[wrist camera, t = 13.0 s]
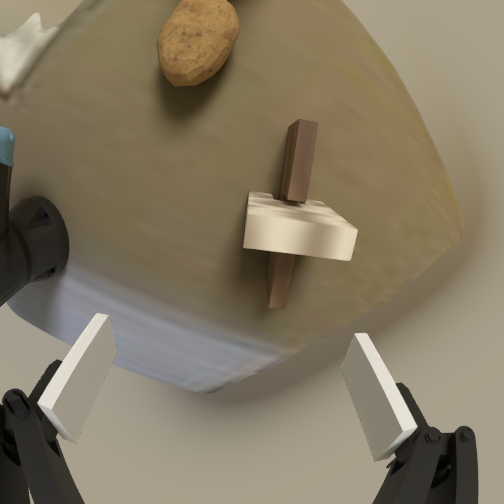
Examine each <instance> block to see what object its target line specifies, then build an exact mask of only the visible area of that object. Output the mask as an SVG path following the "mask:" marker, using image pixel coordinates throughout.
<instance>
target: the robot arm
mask: <svg viewBox="0 0 504 504" xmlns="http://www.w3.org/2000/svg"><path fill="white" fill-rule="evenodd" d="M14 146H15V136H14V134H13V132H12V131H11V130H10V129H8V128H4V127H0V307H1V306H2V305H3V304H4V303H5V302H6V301H7V300H8V299H10V298H11V297H12V296H13V295H14V294H15V293H17V292H18V291H19V290H20V289H21V288H22V287H24V286H25V285H26V284H28V283H31V282H35V281H40V280H44V279H48V278H51V277H53V276H54V275H55V274H57V273H58V272H59V271H60V270H61V269H62V268H63V267H64V265H65V263H66V261H67V257H68V251H69V242H68V235H67V230H66V227H65V224H64V221H63V219H62V217H61V215H60V213H59V211H58V210H57V209H56V207H55V206H54V205H53V204H52V203H51V202H50V201H49V200H47V199H46V198H44V197H41V196H31V197H28V198H25V199H23V200H21V201H20V202H18V203H17V204H16V205H15V206H14V207H13V208H12V209H11V210H10V211H9V197H10V184H11V175H12V167H13V166H14V163H13V154H14ZM116 355H117V350H116V346H115V342H114V337H113V333H112V329H111V324H110V319H109V315H104V314H99V313H96V315H95V316H94V317H93V319H92V320H91V322H90V323H89V324H88V326H87V327H86V328H85V330H84V331H83V333H82V334H81V336H80V337H79V338H78V340H77V341H76V343H75V344H74V346H73V347H72V349H71V350H70V352H69V353H68V354H67V356H66V358H65V359H64V361H60V360H56V361H54V362H53V363H52V364H50V365H49V366H48V368H47V369H46V371H45V374H43V375H42V377H41V380H39V381H38V383H37V385H36V386H35V388H34V389H33V391H32V393H31V394H30V396H29V397H28V398H27V396H26V395H25V393H24V392H23V391H22V390H19V389H11V390H9V391H7V392H6V393H5V395H4V397H3V399H2V403H3V405H1V404H0V504H30V498H29V491H28V487H29V490H30V493H31V496H32V499H33V501H34V504H85V503H84V501H83V499H82V497H81V495H80V493H79V491H78V489H77V487H76V485H75V483H74V481H73V478H72V476H71V474H70V471H69V469H68V467H67V464H66V462H65V459H64V456H63V454H62V451H61V448H60V446H59V443H58V440H57V439H56V435H57V433H59V434H60V436H61V437H62V438H63V439H65V440H68V441H70V442H73V443H75V444H77V441H78V439H79V436H80V434H81V431H82V429H83V427H84V424H85V422H86V420H87V417H88V415H89V412H90V410H91V408H92V406H93V404H94V401H95V399H96V397H97V395H98V393H99V390H100V388H101V386H102V384H103V382H104V380H105V378H106V375H107V373H108V371H109V369H110V367H111V365H112V363H113V361H114V359H115V357H116ZM341 372H342V374H343V377H344V379H345V382H346V385H347V387H348V390H349V393H350V395H351V398H352V400H353V403H354V406H355V409H356V411H357V414H358V417H359V419H360V422H361V425H362V428H363V431H364V433H365V436H366V439H367V442H368V445H369V448H370V450H371V453H372V456H373V459H374V462H376V461H380V460H383V459H387V458H389V457H390V456H391V455H392V454H393V453H395V455H396V458H395V459H394V460H393V461H391V462H390V463H389V464H388V465H387V467H386V468H389V467H390V466H391V467H390V470H389V472H388V474H387V476H386V478H385V480H384V482H383V484H382V486H381V488H380V490H379V492H378V494H377V496H376V498H375V500H374V502H373V504H478V462H477V449H476V440H475V434H474V432H473V430H472V429H470V428H469V427H467V426H461V427H459V428H458V429H457V430H456V431H455V432H454V433H441V432H440V431H439V430H438V429H436V428H435V427H429V426H428V424H427V422H426V420H425V419H424V416H423V415H422V413H421V411H420V409H419V407H418V406H417V404H416V402H415V400H414V398H413V397H412V394H411V393H410V391H409V389H408V388H407V387H406V386H405V385H404V384H402V383H396V384H395V383H394V381H393V379H392V377H391V375H390V373H389V372H388V370H387V368H386V366H385V364H384V363H383V361H382V359H381V357H380V356H379V354H378V352H377V350H376V349H375V347H374V345H373V344H372V342H371V340H370V338H369V337H368V335H367V333H355V334H354V336H353V339H352V341H351V344H350V347H349V349H348V352H347V354H346V357H345V359H344V362H343V364H342V366H341Z"/></svg>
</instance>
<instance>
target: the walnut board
mask: <svg viewBox="0 0 504 504" xmlns="http://www.w3.org/2000/svg"><path fill="white" fill-rule="evenodd" d="M317 128H318V123H317V122H313V121H308V120H302V119H299V120H297V121H296V122H294V123H293V124H291V125H290V126H289V132H288V139H287V146H286V153H285V160H284V166H283V173H282V180H281V187H280V193H279V200H280V201H287V202H294V203H298V201H300V202H306V199H307V193H308V187H309V181H310V175H311V168H312V162H313V156H314V149H315V142H316V135H317ZM295 258H296V254H291V253H283V252H275V251H270V256H269V262H268V268H267V274H266V285H267V295H268V305H269V307H270V308H280V309H285V305H286V301H287V296H288V292H289V287H290V282H291V277H292V273H293V268H294V263H295Z"/></svg>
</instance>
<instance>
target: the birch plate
mask: <svg viewBox="0 0 504 504" xmlns="http://www.w3.org/2000/svg"><path fill="white" fill-rule="evenodd" d="M357 232H358V230H357V229H356V228H354V227H353V226H352V225H351V224H349V223H348V222H347V221H346V220H344V219H343V218H342V217H341V216H339V215H338V214H337V213H336V212H334V211H333V210H332V209H330V208H329V207H328V206H327V205H325V204H324V203H323V202H321V201H315V200H308V199H306V202H300V203H294V202H287V201H280V200H274V198H273V196H272V194H268V193H261V192H253V191H249V197H248V204H247V212H246V223H245V234H244V246H243V248H250V249H258V250H266V251H275V252H283V253H291V254H299V255H307V256H315V257H323V258H331V259H339V260H347V261H350V260H351V256H352V252H353V248H354V244H355V240H356V236H357Z"/></svg>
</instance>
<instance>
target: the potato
mask: <svg viewBox="0 0 504 504" xmlns="http://www.w3.org/2000/svg"><path fill="white" fill-rule="evenodd" d="M238 33H239V20H238V17H237V14H236V11H235V9H234V7H233V6H232V5H231V4H230V3H229V2H228V1H227V0H182V1H181V2H180V4H179V5H178V6H177V7H176V9H175V10H174V11H173V13H172V14H171V16H170V17H169V19H168V20H167V22H166V23H165V25H164V26H163V28H162V29H161V31H160V34H159V37H158V41H157V50H158V57H159V64H160V66H161V69H162V71H163V74H164V76H165V77H166V78H167V79H168V80H169V81H170V82H171V83H172V84H173V85H174V86H194V85H197V84H199V83H201V82H203V81H205V80H207V79H209V78H211V77H212V76H213V75H214V74H215V73H216V72H217V71H218V70H219V69H220V68H221V67H222V65H223V64H224V62H225V61H226V59H227V58H228V56H229V54H230V52H231V50H232V48H233V46H234V44H235V41H236V39H237V37H238Z"/></svg>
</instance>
